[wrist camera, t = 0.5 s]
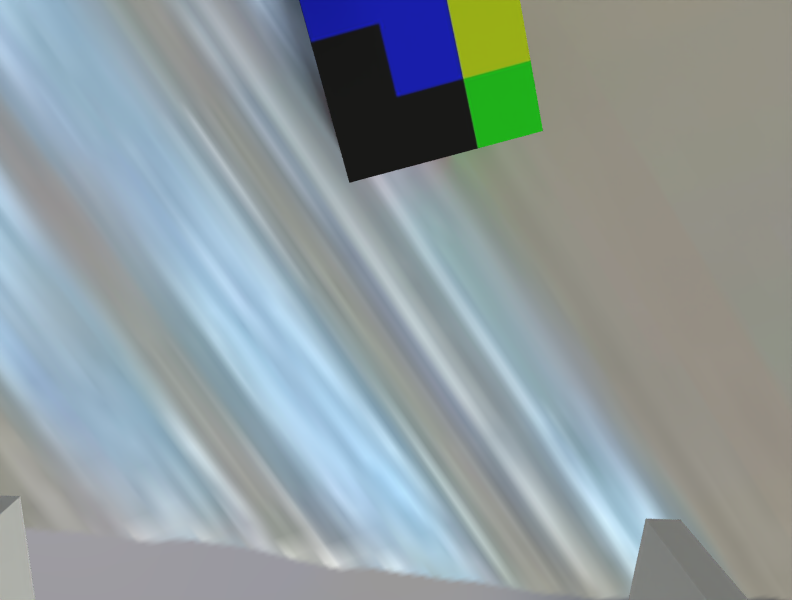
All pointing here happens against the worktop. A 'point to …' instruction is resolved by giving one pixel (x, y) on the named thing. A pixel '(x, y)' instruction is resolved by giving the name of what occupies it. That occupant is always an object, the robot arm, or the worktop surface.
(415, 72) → the puzzle toy
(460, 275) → the worktop surface
